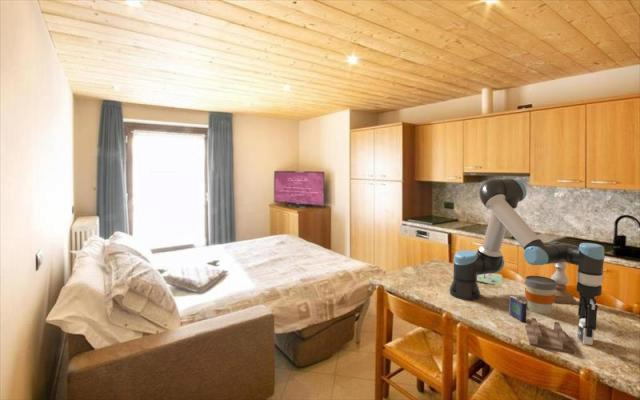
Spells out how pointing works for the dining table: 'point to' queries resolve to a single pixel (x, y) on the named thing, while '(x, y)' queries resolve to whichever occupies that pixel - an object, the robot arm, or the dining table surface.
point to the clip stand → (549, 337)
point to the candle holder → (561, 285)
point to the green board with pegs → (490, 278)
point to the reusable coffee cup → (540, 293)
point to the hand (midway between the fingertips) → (585, 339)
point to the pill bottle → (581, 329)
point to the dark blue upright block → (517, 308)
